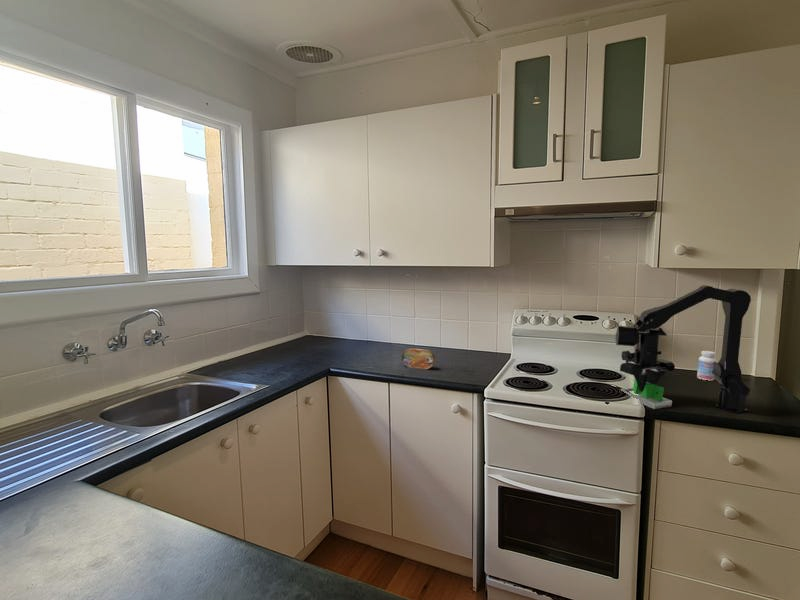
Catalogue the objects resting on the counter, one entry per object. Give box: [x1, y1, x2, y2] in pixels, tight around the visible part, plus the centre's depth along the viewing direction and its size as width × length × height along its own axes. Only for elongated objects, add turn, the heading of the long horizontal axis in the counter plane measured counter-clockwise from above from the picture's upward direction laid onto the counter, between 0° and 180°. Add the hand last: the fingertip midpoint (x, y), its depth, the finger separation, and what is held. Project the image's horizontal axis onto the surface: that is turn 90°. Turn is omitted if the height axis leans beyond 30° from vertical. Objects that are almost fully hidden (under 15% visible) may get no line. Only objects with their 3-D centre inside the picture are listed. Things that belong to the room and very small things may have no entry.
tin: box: [401, 347, 436, 370], centre depth 192 cm, size 15×3×8 cm, turn 65°
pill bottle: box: [696, 350, 718, 382], centre depth 178 cm, size 6×6×11 cm
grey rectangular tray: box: [619, 387, 673, 410], centre depth 153 cm, size 15×8×2 cm, turn 18°
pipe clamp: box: [632, 378, 665, 401], centre depth 153 cm, size 11×4×5 cm, turn 18°
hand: (645, 390), depth 153 cm, fingers closed on pipe clamp, 4 cm apart
